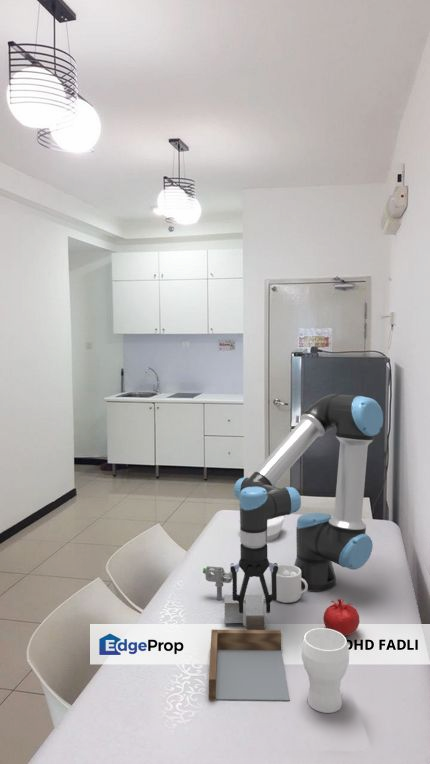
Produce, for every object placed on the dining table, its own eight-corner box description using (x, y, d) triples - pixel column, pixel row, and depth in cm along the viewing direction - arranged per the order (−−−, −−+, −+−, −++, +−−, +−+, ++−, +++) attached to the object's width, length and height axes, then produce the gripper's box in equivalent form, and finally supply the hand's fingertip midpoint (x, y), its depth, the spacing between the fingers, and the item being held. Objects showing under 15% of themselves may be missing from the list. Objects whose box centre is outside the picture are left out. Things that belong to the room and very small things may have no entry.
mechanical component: (234, 602, 172) (234, 572, 171) (202, 599, 174) (202, 569, 173) (235, 598, 175) (235, 568, 174) (204, 595, 177) (204, 565, 176)
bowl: (271, 550, 215) (272, 527, 214) (232, 541, 224) (232, 519, 223) (290, 536, 230) (290, 514, 229) (253, 529, 239) (253, 508, 238)
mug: (312, 594, 177) (312, 567, 176) (303, 609, 168) (303, 580, 167) (277, 587, 183) (277, 561, 182) (266, 601, 173) (266, 573, 173)
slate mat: (281, 651, 145) (281, 650, 145) (289, 701, 125) (289, 699, 125) (217, 650, 146) (217, 649, 146) (215, 700, 126) (215, 698, 126)
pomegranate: (364, 638, 152) (365, 605, 151) (330, 641, 150) (331, 608, 149) (350, 620, 161) (350, 589, 161) (318, 623, 160) (318, 592, 159)
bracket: (261, 613, 162) (261, 594, 162) (264, 636, 150) (264, 615, 150) (224, 614, 163) (224, 594, 162) (224, 636, 151) (224, 615, 150)
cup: (296, 688, 130) (296, 627, 129) (339, 685, 131) (340, 625, 130) (307, 719, 119) (308, 653, 118) (355, 716, 120) (356, 650, 119)
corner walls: (280, 648, 147) (280, 630, 146) (289, 701, 125) (289, 680, 125) (211, 647, 147) (211, 629, 147) (208, 700, 126) (208, 679, 125)
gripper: (284, 538, 156) (285, 616, 158) (221, 538, 156) (223, 616, 158) (287, 548, 148) (288, 630, 150) (221, 548, 149) (222, 630, 151)
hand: (254, 623), depth 154 cm, fingers closed on bracket, 5 cm apart
